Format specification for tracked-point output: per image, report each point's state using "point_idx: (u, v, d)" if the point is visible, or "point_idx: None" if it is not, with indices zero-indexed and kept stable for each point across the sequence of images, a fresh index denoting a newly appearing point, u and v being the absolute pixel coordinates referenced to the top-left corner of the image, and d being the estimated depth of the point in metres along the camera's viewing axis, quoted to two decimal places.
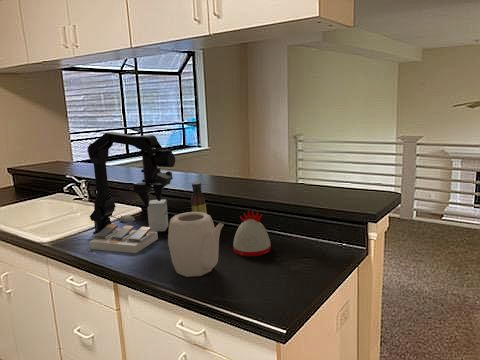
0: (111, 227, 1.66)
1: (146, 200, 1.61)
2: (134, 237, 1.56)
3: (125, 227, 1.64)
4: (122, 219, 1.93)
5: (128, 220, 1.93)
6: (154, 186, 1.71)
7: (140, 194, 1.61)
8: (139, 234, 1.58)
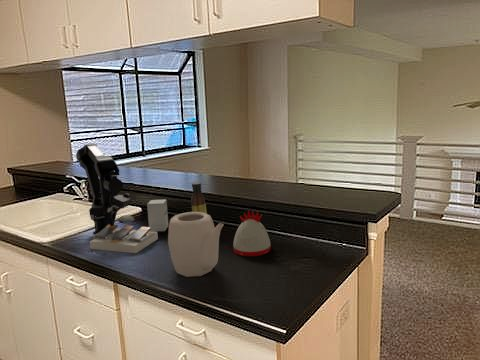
0: (111, 227, 1.66)
1: (110, 220, 1.66)
2: (134, 237, 1.56)
3: (125, 227, 1.64)
4: (121, 219, 1.93)
5: (127, 220, 1.93)
6: None
7: (104, 214, 1.65)
8: (139, 234, 1.58)
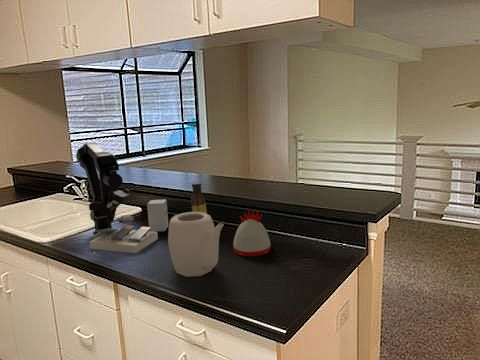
0: (112, 229, 1.67)
1: (110, 215, 1.65)
2: (134, 237, 1.56)
3: (125, 227, 1.64)
4: (121, 219, 1.93)
5: (127, 220, 1.93)
6: None
7: (104, 210, 1.65)
8: (139, 234, 1.58)
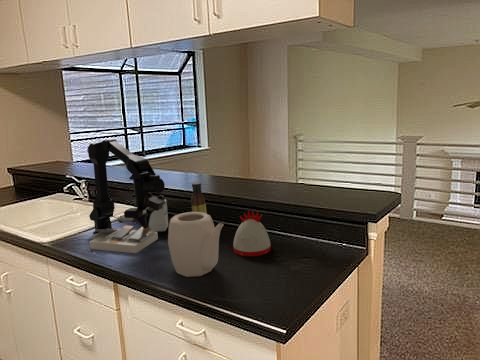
0: None
1: (144, 222, 1.61)
2: (134, 237, 1.56)
3: (125, 227, 1.64)
4: (120, 219, 1.94)
5: (126, 220, 1.93)
6: None
7: None
8: (139, 234, 1.58)
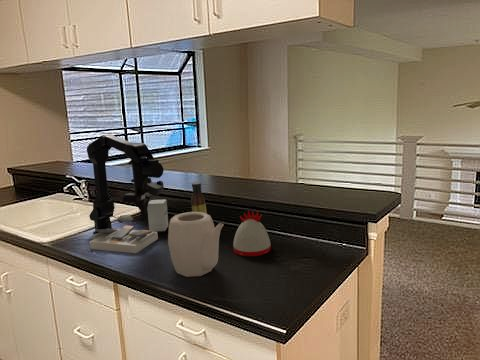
0: (112, 229, 1.67)
1: (143, 208, 1.59)
2: (134, 234, 1.56)
3: (125, 227, 1.64)
4: (120, 219, 1.94)
5: (126, 220, 1.93)
6: None
7: (136, 202, 1.59)
8: (139, 233, 1.58)
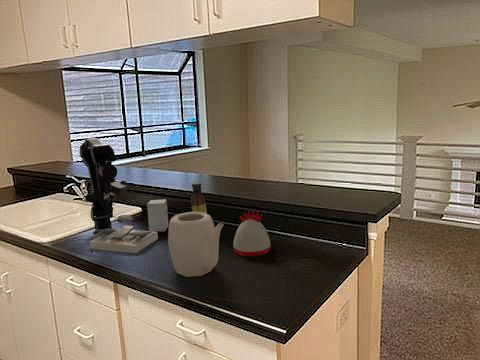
0: (112, 229, 1.67)
1: (107, 207, 1.62)
2: (134, 233, 1.56)
3: (125, 227, 1.64)
4: (120, 218, 1.94)
5: (125, 219, 1.94)
6: None
7: (101, 201, 1.62)
8: (140, 232, 1.58)
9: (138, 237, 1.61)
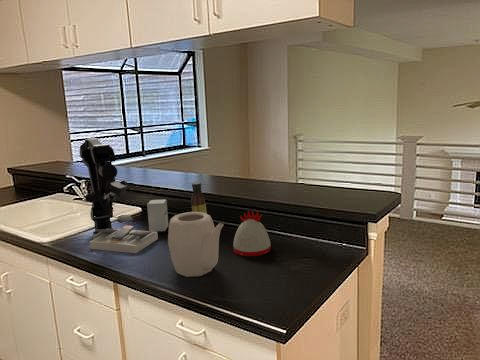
0: (112, 229, 1.67)
1: (107, 207, 1.62)
2: (134, 233, 1.56)
3: (125, 227, 1.64)
4: (119, 218, 1.94)
5: (125, 219, 1.94)
6: None
7: (101, 201, 1.62)
8: (140, 232, 1.58)
9: (138, 237, 1.61)
